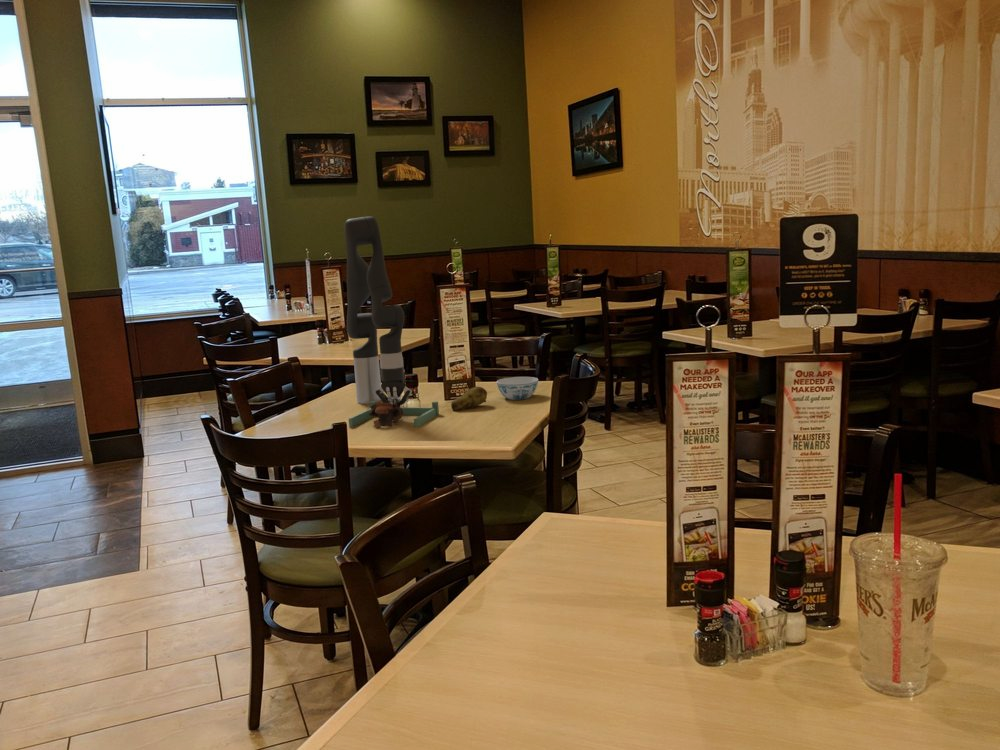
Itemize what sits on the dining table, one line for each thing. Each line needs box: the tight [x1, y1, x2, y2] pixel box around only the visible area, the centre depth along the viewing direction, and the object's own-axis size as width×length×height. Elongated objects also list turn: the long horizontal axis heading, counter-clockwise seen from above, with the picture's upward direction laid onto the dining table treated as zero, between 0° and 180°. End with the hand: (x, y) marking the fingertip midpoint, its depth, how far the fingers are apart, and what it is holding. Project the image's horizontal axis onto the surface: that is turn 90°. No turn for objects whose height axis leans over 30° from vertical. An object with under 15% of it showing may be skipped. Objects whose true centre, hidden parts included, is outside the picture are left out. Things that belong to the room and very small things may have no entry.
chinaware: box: [496, 376, 539, 401], centre depth 300 cm, size 15×15×8 cm
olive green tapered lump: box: [450, 386, 488, 412], centre depth 288 cm, size 8×13×8 cm, turn 98°
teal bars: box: [348, 401, 440, 428], centre depth 277 cm, size 18×25×5 cm
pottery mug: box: [369, 402, 404, 428], centre depth 272 cm, size 12×9×8 cm
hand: (395, 417), depth 278 cm, fingers closed
